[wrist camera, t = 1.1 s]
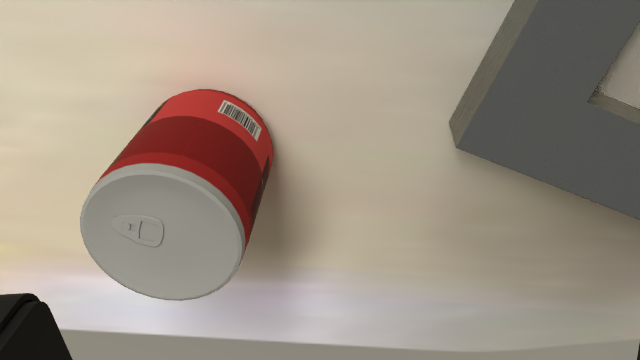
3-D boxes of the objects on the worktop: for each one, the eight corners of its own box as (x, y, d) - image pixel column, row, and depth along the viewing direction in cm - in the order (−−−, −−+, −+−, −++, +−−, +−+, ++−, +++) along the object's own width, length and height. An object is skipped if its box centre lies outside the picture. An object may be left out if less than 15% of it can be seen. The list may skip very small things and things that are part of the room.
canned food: (142, 83, 37) (62, 167, 27) (272, 85, 36) (237, 172, 27) (159, 191, 41) (94, 299, 31) (278, 195, 40) (248, 306, 30)
